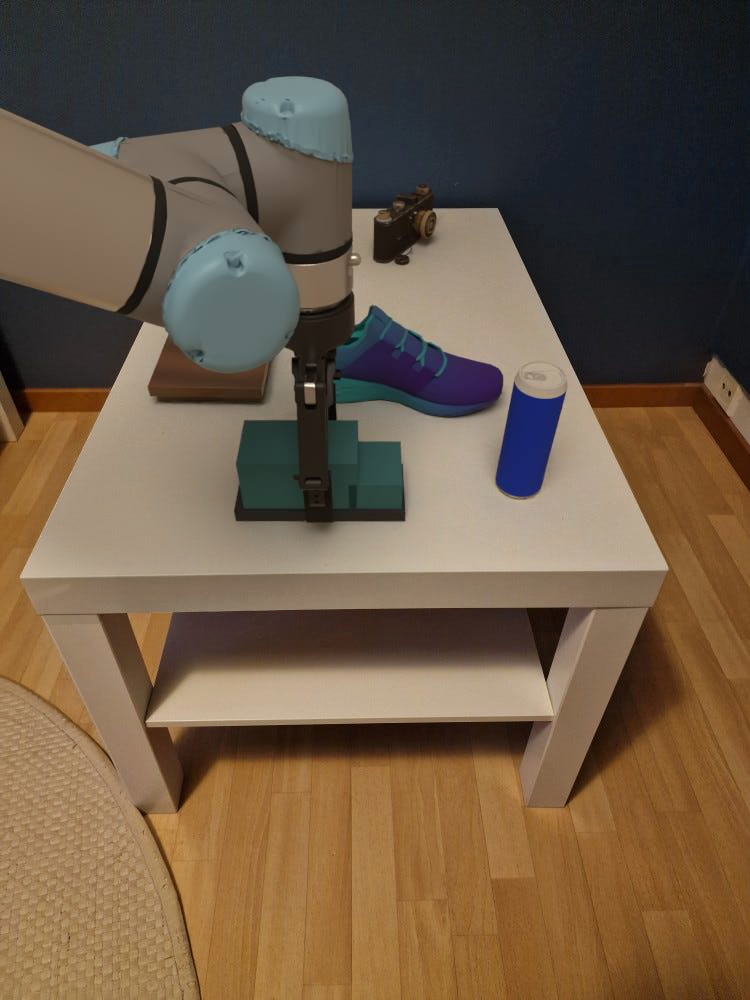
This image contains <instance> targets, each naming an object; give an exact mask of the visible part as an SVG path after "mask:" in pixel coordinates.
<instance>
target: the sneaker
mask: <svg viewBox="0 0 750 1000" xmlns="http://www.w3.org/2000/svg"><path fill="white" fill-rule="evenodd" d="M336 369H341V380H333V383H335V390H336V404H339V403H340V404H347V403H357V402H365V401H366V402H367V401H378V400H383V401H389V402H395V403H399V404H402V405H404V406H407V407H408V408H411V409H413V410H414V411H415V410H416V411H418V412H420V413H423V414H425V415H427V416H438V417H446V418H447V417H448V418H453V417H458V416H463V415H467V414H470V413H473V412H477V411H479V410H481V409H484V408H486V407H488V406H489V405H492V404H493V403H494V402H496V401H498V399H499V398H500V396H501V395H502V394H503V389H504V374H503V373H502V371H501V369H500V368H499V367H497V366H496V365H493V364H491V363H487V362H482V361H478V360H474V359H470V358H466V357H462V356H458V355H455V354H453V353H450V352H446V351H444V350H443V349H442V347H441V346H438V345H437V344H435V343H433V342H432V341H426V340H424V338H423V336H422V335H420V334H419V333H417V332H415V331H413V330H412V329H408V328H406V327H405V326H403V324H401V323H399V322H397V321H395V320H394V319H393V317H392V316H389V315H388V314H387V313H386V312H385V311H384V310H382V308H380V307H379V306H377V305H374V304H371V305H369V308H368V313H367V316H365V317H364V318H363V319H362V320H361V321H360V322H359V323H357V324H356V323H355V329H354V332H353V335H352V336H351V338H350V339H349V340H348V341H347V342H346V343H344V344H343V345H341V346H339V347H337V357H336Z"/></svg>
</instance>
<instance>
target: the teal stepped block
mask: <svg viewBox="0 0 750 1000" xmlns="http://www.w3.org/2000/svg"><path fill="white" fill-rule="evenodd" d="M401 444H402V442H401V441H399V440H397V441H395V440H394V441H392V440H391V441H390V440H387V441H384V440H379V441H377V440H375V441H374V440H366V441H365V440H359V420H353V419H352V420H351V419H349V420H347V419H344V420H343V419H342V420H341V419H339V420H338V419H337V420H328V454H329V470H331V483H332V500H333V522H405V521H406V499H405V497H406V496H405V481H404V479H405V477H404V464H403V461H402V460H403V459H402V445H401ZM235 465H236V466H235V467H236V473H237V478H238V486H237V493H236V499H235V504H234V509H233V513H234V514H233V515H234V519H235V522H306V517H305V507H304V497H303V490H300V489H299V484H298V482H299V481H294V480H293V475H294V474H299V452H298V427H297V419H244V420H243V424H242V430H241V435H240V440H239V445H238V450H237V455H236V460H235Z"/></svg>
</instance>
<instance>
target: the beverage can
mask: <svg viewBox="0 0 750 1000" xmlns="http://www.w3.org/2000/svg"><path fill="white" fill-rule="evenodd" d="M567 391H568V379H567V374H566V371H564V370H563V368H561V367H560V366H558V365H556V364H555V363H552V362H548V361H544V360H534V361H529V362H526V363H524V364H523V365H522V366H521V367H520V368H519V369H518V371H517V372H516V374H515V376H514V380H513V385H512V391H511V396H510V400H509V406H508V411H507V415H506V421H505V426H504V430H503V431H504V432H503V436H502V441H501V447H500V453H499V457H498V462H497V466H496V471H495V472H496V473H495V477H494V478H495V484H496V485H497V487H498V488H499V490H500V491H501V492H502V493H503V494H505V495H507V496H509V497H511V498H513V499H528V498H530V497H532V496H534V495H536V494H537V493H539V491H540V490H541V488H542V485H543V482H544V478H545V475H546V470H547V467H548V462H549V460H550V455H551V452H552V447H553V444H554V440H555V436H556V433H557V430H558V425H559V422H560V417H561V414H562V410H563V406H564V403H565V400H566V399H565V398H566V394H567Z"/></svg>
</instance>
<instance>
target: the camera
mask: <svg viewBox="0 0 750 1000" xmlns="http://www.w3.org/2000/svg"><path fill="white" fill-rule="evenodd" d="M434 196H435V191H434V189H432V188H430V187H429V185H428V184H425V183H420V184H417V185H416V189H415V190H412V192H410V193H397V194H396V196H395V199H396V201H393V202H392V205H391V206H389V207H388V208H386V209H379V210H378V211H377V215H375V216H374V217H373V250H372V251H373V255H372V259H373V261H375V262H377V263H379V264H388V263H391V262H392V261H393V260H394V263H395V264H397V265H400V266H401V265H402V266H403V265H407V264H408V263H409V262H410V257H409V256H408V255H409V254H410V253H411V252H412V250H413V245H414V244H416V243H418V242H419V241H420V240H421V239H423V238H424V239H429V238H431V237H432V235H433V234H434V231H435V230H436V227H437V221H438V220H437V214H436V212H435V211H434V198H435V197H434ZM409 248H410V250H409V252H407V253H406V254H404V252H405V251H407V250H408V249H409Z"/></svg>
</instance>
